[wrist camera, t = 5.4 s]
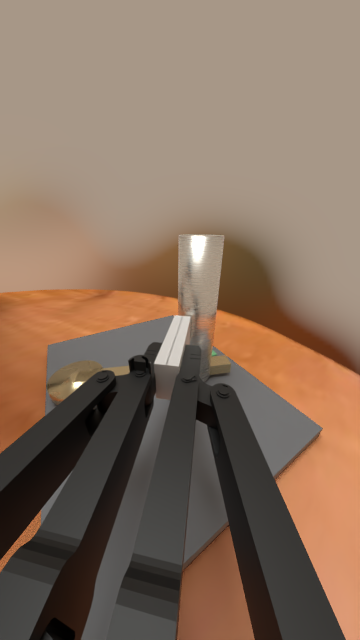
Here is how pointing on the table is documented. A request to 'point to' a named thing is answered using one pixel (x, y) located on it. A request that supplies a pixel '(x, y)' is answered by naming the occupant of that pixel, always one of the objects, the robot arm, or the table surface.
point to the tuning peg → (193, 300)
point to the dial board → (205, 492)
